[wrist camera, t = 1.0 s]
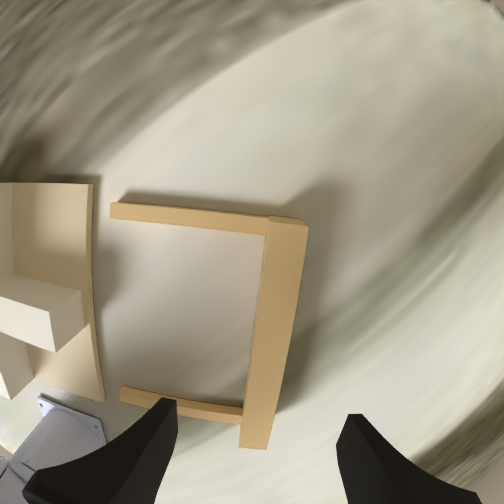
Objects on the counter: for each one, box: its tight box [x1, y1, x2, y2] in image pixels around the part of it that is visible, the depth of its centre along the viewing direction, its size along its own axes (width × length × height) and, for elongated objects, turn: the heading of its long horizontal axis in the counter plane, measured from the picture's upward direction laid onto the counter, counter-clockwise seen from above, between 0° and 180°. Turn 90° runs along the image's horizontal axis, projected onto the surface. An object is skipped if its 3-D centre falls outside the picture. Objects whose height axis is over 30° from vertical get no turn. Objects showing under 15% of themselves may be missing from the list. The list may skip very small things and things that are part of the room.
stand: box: [0, 183, 105, 403], centre depth 17 cm, size 15×18×7 cm
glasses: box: [110, 202, 309, 450], centre depth 19 cm, size 12×16×4 cm
